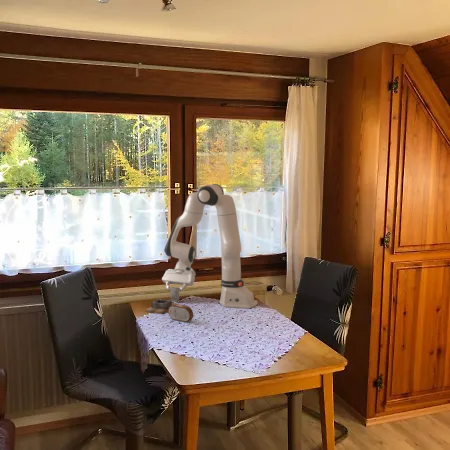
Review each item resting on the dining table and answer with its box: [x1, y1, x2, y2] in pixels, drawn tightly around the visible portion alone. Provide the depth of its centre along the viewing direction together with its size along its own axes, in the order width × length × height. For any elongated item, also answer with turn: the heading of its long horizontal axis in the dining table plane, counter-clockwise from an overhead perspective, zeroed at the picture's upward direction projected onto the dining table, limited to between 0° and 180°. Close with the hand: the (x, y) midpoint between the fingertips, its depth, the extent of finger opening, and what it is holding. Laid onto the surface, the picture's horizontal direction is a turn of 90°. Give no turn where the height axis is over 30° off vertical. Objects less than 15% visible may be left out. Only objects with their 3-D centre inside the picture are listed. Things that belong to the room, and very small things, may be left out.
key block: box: [169, 286, 180, 303], centre depth 291 cm, size 4×3×8 cm
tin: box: [167, 303, 194, 323], centre depth 257 cm, size 15×3×8 cm, turn 58°
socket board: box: [144, 298, 177, 315], centre depth 278 cm, size 11×17×4 cm, turn 156°
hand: (174, 289), depth 290 cm, fingers open, 8 cm apart
